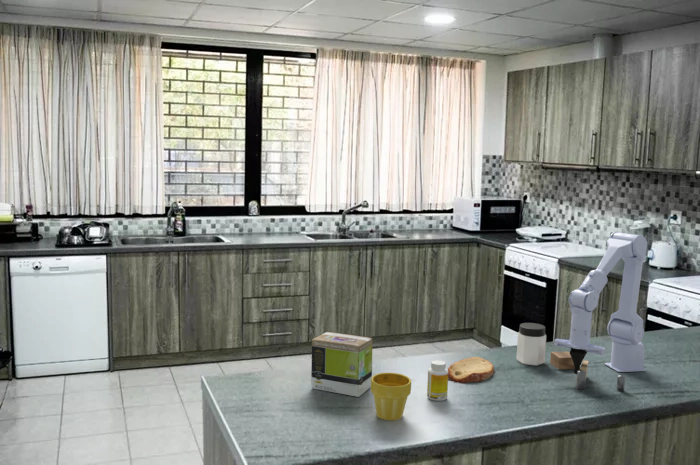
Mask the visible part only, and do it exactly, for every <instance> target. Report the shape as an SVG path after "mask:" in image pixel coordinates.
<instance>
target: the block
mask: <svg viewBox="0 0 700 465" xmlns="http://www.w3.org/2000/svg"><path fill="white" fill-rule="evenodd" d="M549 358H550V361H549V362H550V364H551V366H554V367H555V368H556V369H557V370H574V369H575V367H574V363H573V360H572V357H571V355H570V351H551V352H550V357H549Z"/></svg>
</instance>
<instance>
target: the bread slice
mask: <svg viewBox="0 0 700 465" xmlns="http://www.w3.org/2000/svg"><path fill="white" fill-rule="evenodd" d="M447 370H448V380H449V381H450V382H452V381H454V382H453V383H457V382H459V383H458V384H469V383H468V382H470V383H480V382H483V381H486V380H488V379H490V378H491V377H492V375H494V373H495V368H494V365H493V363H492V362H490V361H489V360H487V359H484V358H482V357H480V356H479V357H478V356H472V357H468V358H467V357H466V358H463V359H461V360H458V361H456V362H454V363H452V364H450V365H449V367H448V368H447Z"/></svg>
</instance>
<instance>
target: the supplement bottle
mask: <svg viewBox="0 0 700 465" xmlns="http://www.w3.org/2000/svg"><path fill="white" fill-rule="evenodd" d="M446 365H447V363H446V362H445V361H444V360H440V359H439V360H437V359H436V360H432V361H431V362H430V367H429V369H428V370H427V386H426V387H427V388H426V389H427V392H426V397H427V399H429V400H431V401H435V402H443V401H445V400H447V399H448V389H449V388H448V387H449V385H448V384H449V378H448V368H446V367H447V366H446Z"/></svg>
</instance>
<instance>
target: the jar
mask: <svg viewBox="0 0 700 465" xmlns="http://www.w3.org/2000/svg"><path fill="white" fill-rule="evenodd" d="M546 344H547V334H546V326H545V325H544V324H540V323H535V322H523V323H520V324H519V331H518V332H517V344H516V358H515V359H516V361H517V362H519V363H521V364H522V365H531V366H535V367H536V366H539V365H542V364H544V363H545V361H546V360H545V358H546V349H547V348H546Z"/></svg>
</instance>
